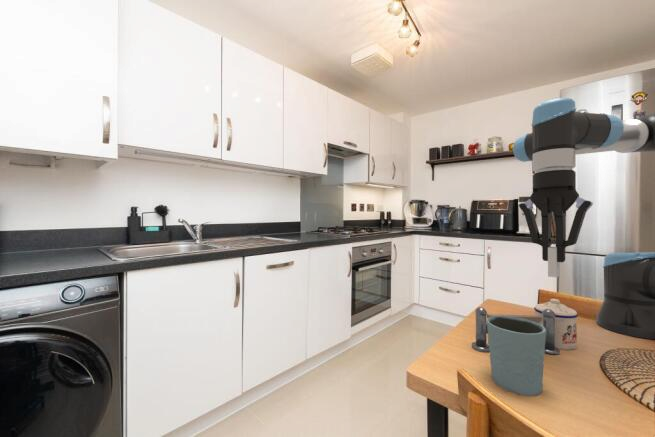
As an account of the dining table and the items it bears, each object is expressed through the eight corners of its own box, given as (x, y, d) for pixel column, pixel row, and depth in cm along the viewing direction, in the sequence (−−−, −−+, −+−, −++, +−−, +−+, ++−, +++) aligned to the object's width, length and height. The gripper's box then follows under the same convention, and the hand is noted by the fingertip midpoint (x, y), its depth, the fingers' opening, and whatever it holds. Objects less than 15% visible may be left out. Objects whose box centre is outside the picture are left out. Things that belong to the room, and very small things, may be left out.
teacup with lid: (571, 354, 68) (571, 306, 68) (528, 340, 76) (528, 298, 76) (586, 342, 75) (586, 298, 75) (545, 330, 83) (545, 291, 83)
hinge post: (552, 347, 72) (551, 306, 72) (564, 355, 68) (564, 312, 68) (533, 346, 73) (533, 306, 73) (545, 354, 68) (545, 311, 68)
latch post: (489, 344, 74) (489, 304, 74) (497, 352, 69) (497, 310, 69) (468, 343, 74) (468, 304, 74) (475, 351, 70) (475, 309, 70)
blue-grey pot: (519, 402, 51) (519, 336, 51) (475, 372, 60) (475, 317, 60) (559, 392, 53) (559, 329, 53) (511, 365, 63) (511, 312, 63)
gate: (538, 345, 71) (538, 315, 71) (541, 347, 70) (541, 317, 70) (487, 343, 72) (486, 313, 72) (489, 345, 71) (489, 315, 71)
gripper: (596, 169, 60) (596, 278, 60) (524, 176, 70) (524, 270, 70) (589, 164, 55) (590, 283, 55) (514, 173, 65) (514, 273, 65)
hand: (553, 276), depth 63 cm, fingers closed
